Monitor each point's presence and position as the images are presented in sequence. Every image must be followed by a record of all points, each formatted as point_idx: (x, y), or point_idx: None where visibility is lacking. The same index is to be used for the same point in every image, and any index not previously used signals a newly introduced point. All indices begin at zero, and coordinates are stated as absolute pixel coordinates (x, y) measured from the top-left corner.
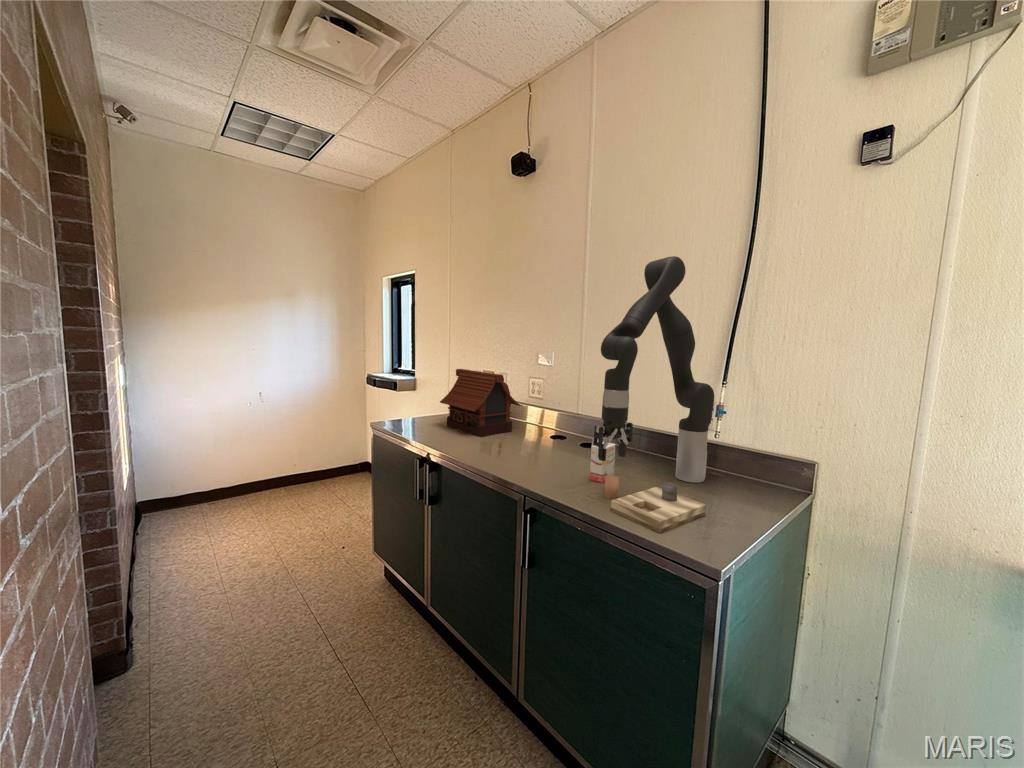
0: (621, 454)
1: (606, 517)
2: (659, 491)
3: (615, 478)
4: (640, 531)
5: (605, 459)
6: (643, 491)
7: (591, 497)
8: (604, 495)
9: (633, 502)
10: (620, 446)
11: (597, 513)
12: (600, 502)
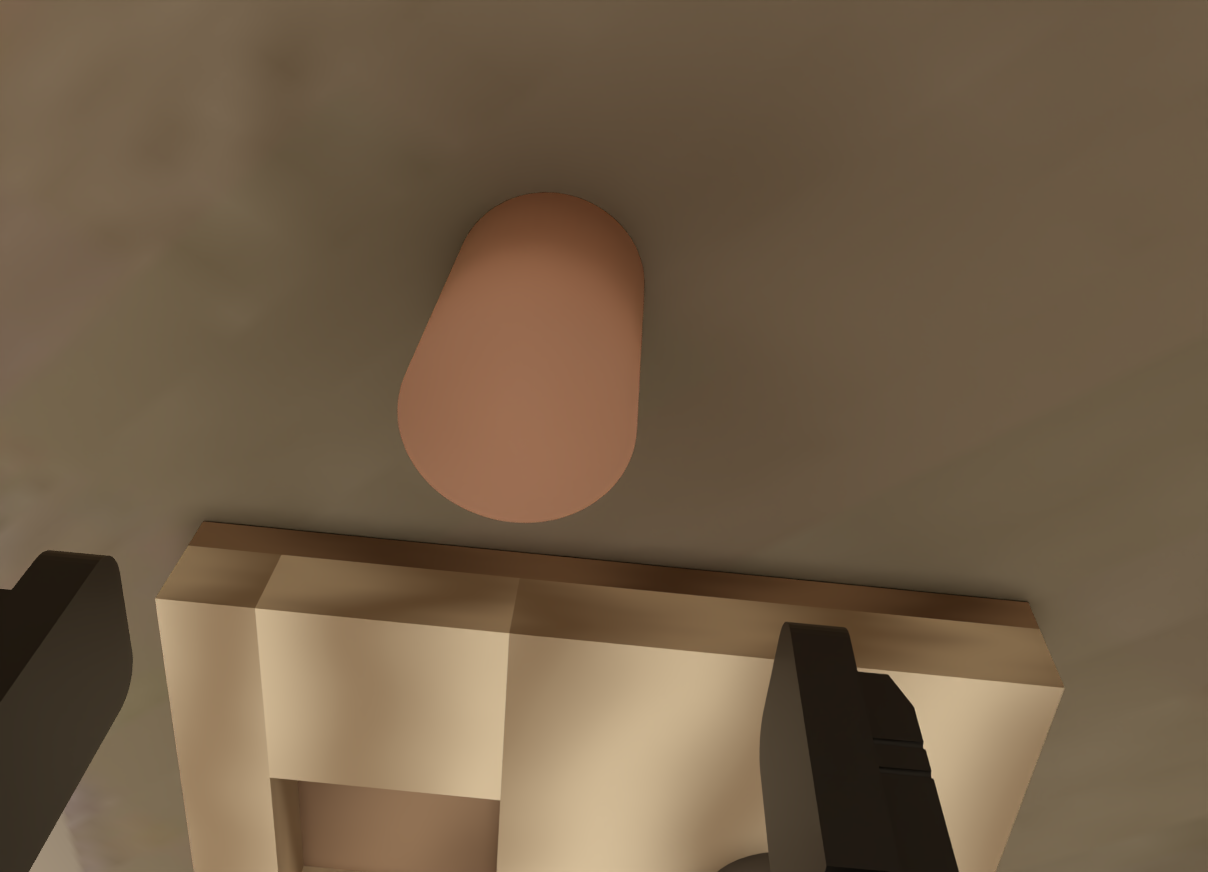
0: (774, 722)
1: None
2: None
3: (529, 481)
4: (137, 861)
5: (110, 709)
6: (758, 674)
7: (290, 125)
8: (471, 232)
9: (349, 759)
10: (804, 852)
11: (20, 477)
12: (275, 313)
